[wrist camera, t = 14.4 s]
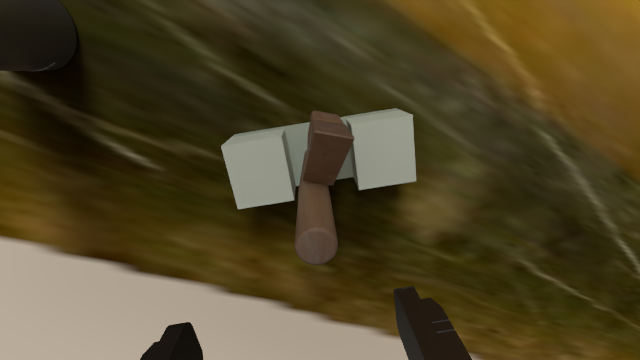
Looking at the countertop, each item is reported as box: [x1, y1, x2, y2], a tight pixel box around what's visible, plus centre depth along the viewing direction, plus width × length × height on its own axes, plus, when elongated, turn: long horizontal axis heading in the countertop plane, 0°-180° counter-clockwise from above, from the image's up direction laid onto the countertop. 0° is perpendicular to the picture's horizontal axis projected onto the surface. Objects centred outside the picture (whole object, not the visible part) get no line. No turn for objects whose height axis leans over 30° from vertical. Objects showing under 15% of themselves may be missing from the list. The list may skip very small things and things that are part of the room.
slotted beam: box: [221, 108, 416, 209], centre depth 40 cm, size 8×22×7 cm, turn 99°
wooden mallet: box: [295, 111, 354, 265], centre depth 33 cm, size 4×11×18 cm, turn 170°
